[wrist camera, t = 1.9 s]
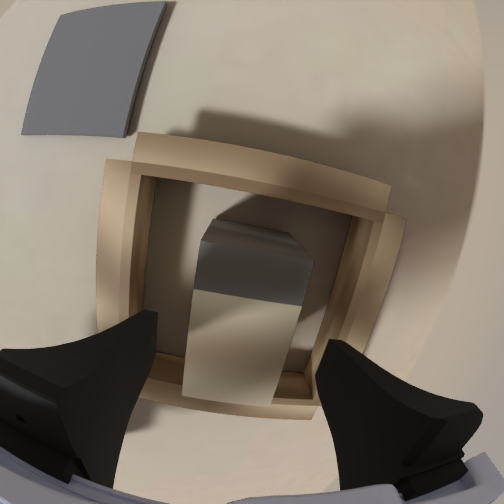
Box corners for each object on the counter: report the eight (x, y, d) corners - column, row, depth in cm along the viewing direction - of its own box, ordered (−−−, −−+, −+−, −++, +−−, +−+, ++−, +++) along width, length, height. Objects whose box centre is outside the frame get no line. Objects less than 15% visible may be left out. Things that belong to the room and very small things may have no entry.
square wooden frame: (320, 394, 20) (330, 419, 17) (116, 363, 19) (103, 387, 16) (387, 189, 17) (412, 193, 14) (132, 137, 15) (112, 129, 12)
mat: (125, 138, 15) (122, 137, 14) (25, 135, 14) (21, 134, 14) (167, 5, 13) (165, 1, 12) (63, 17, 12) (60, 15, 11)
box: (260, 346, 19) (269, 407, 13) (195, 336, 18) (181, 395, 13) (288, 232, 17) (314, 261, 11) (213, 218, 17) (200, 240, 11)
